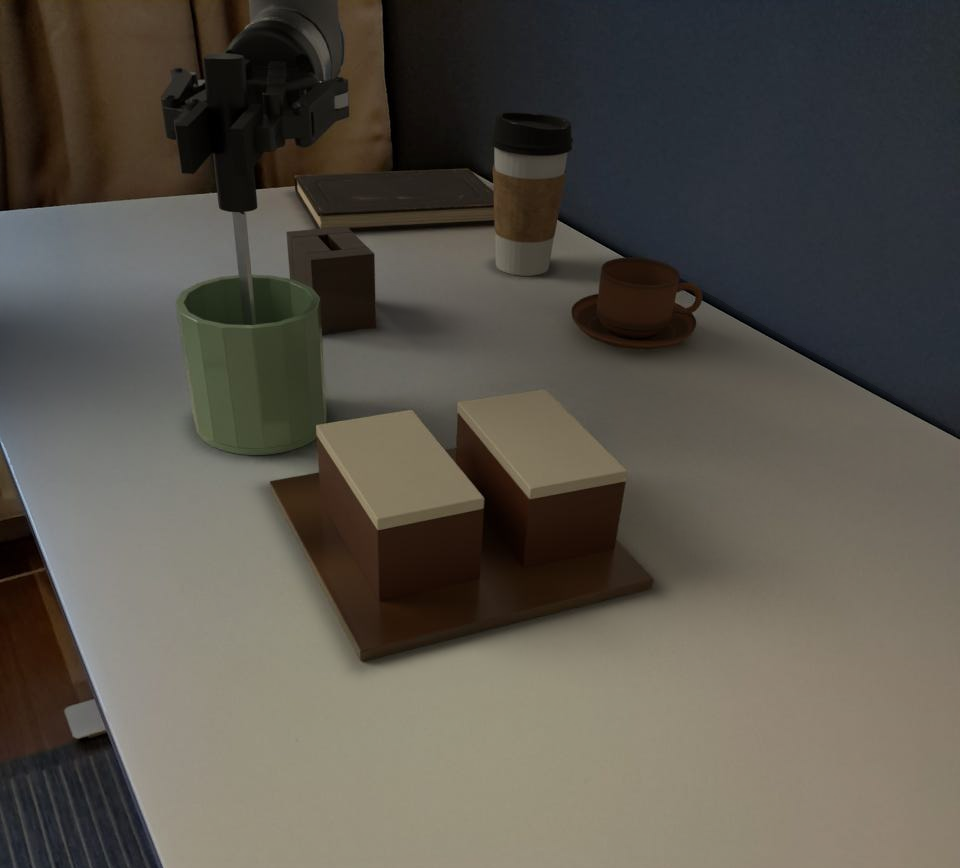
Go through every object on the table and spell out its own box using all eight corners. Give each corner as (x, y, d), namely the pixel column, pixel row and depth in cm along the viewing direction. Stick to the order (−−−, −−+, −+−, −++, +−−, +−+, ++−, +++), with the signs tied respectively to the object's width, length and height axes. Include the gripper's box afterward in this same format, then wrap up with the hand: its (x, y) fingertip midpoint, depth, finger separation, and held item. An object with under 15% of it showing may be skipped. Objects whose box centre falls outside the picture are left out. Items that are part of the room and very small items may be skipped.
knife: (234, 380, 76) (197, 52, 62) (267, 376, 76) (238, 52, 63) (243, 398, 73) (207, 60, 60) (278, 393, 74) (249, 60, 61)
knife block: (291, 304, 96) (286, 231, 92) (349, 297, 99) (346, 225, 94) (315, 335, 91) (310, 260, 87) (376, 328, 93) (374, 253, 89)
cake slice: (454, 476, 71) (457, 401, 67) (538, 462, 74) (545, 388, 70) (523, 568, 63) (530, 488, 59) (614, 548, 65) (628, 470, 61)
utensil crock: (184, 404, 79) (164, 282, 73) (305, 386, 83) (296, 268, 76) (211, 464, 72) (192, 335, 66) (343, 442, 76) (337, 317, 70)
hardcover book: (506, 223, 119) (507, 203, 117) (319, 233, 113) (318, 213, 111) (466, 185, 130) (467, 167, 129) (295, 193, 124) (293, 173, 123)
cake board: (270, 490, 70) (269, 480, 70) (518, 445, 77) (519, 435, 77) (360, 662, 57) (360, 651, 56) (652, 588, 63) (654, 578, 63)
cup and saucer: (659, 306, 101) (669, 245, 97) (714, 355, 92) (728, 290, 88) (551, 315, 98) (557, 252, 94) (598, 366, 89) (607, 299, 85)
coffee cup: (471, 257, 109) (478, 108, 99) (538, 250, 112) (550, 104, 102) (504, 284, 103) (514, 129, 94) (573, 275, 106) (590, 124, 97)
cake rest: (320, 502, 68) (315, 424, 64) (411, 485, 70) (412, 409, 66) (379, 601, 60) (377, 519, 56) (480, 578, 62) (485, 497, 58)
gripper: (376, 130, 80) (342, 221, 62) (186, 120, 80) (96, 208, 62) (374, 24, 75) (336, 89, 57) (171, 13, 75) (69, 75, 57)
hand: (212, 151), depth 60 cm, fingers closed on knife, 3 cm apart
